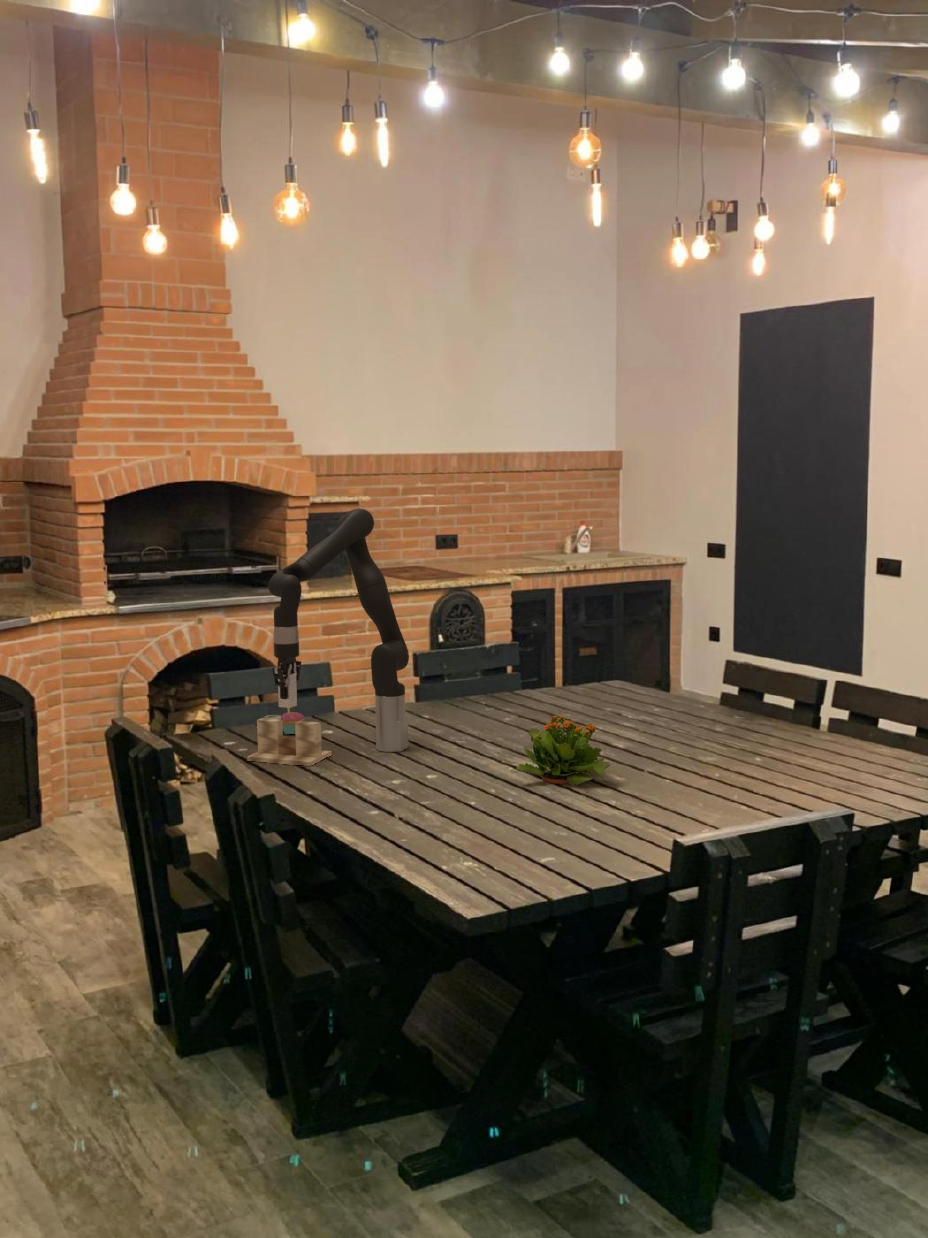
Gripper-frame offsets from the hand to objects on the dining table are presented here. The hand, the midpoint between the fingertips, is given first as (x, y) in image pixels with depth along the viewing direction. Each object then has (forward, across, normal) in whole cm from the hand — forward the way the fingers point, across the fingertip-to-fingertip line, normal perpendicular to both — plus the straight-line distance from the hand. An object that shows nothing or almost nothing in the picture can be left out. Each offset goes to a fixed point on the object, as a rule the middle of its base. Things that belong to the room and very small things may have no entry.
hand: (287, 697), depth 370 cm
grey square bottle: (+3, 0, 0) cm, 3 cm away
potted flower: (+19, +2, -83) cm, 85 cm away
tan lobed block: (+19, 0, 0) cm, 19 cm away
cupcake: (+19, +30, +16) cm, 39 cm away
